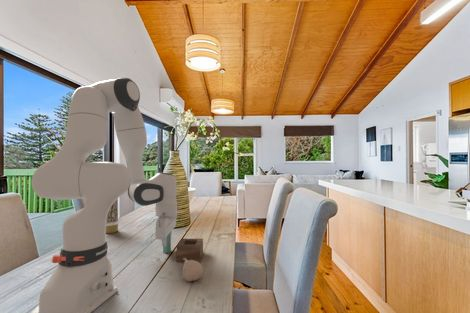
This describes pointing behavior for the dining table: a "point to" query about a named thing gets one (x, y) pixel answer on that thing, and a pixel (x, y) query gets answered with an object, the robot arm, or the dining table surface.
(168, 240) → the peg
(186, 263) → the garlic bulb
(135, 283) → the dining table surface
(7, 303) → the dining table surface
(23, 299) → the dining table surface
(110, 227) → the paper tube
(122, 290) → the dining table surface
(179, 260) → the socket block
